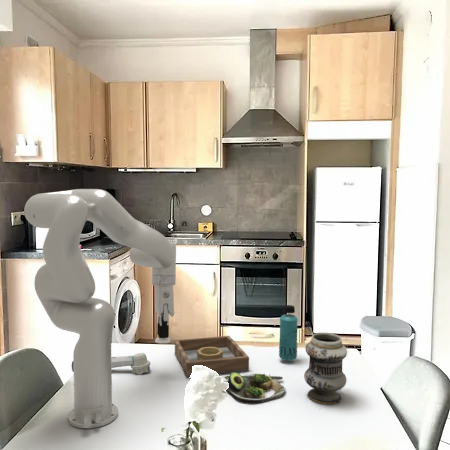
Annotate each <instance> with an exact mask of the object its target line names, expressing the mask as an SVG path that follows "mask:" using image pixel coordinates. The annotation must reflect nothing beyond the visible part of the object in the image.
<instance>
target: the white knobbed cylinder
mask: <svg viewBox="0 0 450 450" xmlns="http://www.w3.org/2000/svg"><path fill="white" fill-rule="evenodd" d="M151 364H152V363H151V361H150V360H148V357H147V355H146V353H145V352H139V353H138V352H137V353H134V354H133V355H122V356H111V367H112V369H114V368H123V367H128V366H130V368H131V370H132V373H133V374H134V375H136V374H137V375H143V373H147V374H148V373H149V372H150V371H151V367H150V366H151ZM71 372H73V373H74V362H73V361H71Z"/></svg>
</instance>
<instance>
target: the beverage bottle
mask: <svg viewBox="0 0 450 450" xmlns="http://www.w3.org/2000/svg"><path fill="white" fill-rule="evenodd" d="M295 310H296V308H295V306H294V305H290V304H286V305H283V308H282V312H283V313H284V314H282V315H281V316H280V317H279V347H278V356H279V358H280V359H281V360H283V361H294V360H296V359H297V357H298V333H299V332H298V320H299V319H298V317H297V316H296V315H295V314H294V313H295V312H296V311H295Z"/></svg>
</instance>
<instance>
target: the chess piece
mask: <svg viewBox="0 0 450 450" xmlns="http://www.w3.org/2000/svg"><path fill="white" fill-rule="evenodd" d="M162 316H163V314H162ZM162 319H163V318H162ZM154 342H155V343H157V344H169V343H170V342H172V341H171V338H170V336H169V337H168V338H159V337H158V336H157V337H156V338H155V340H154Z"/></svg>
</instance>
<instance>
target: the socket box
mask: <svg viewBox="0 0 450 450" xmlns="http://www.w3.org/2000/svg"><path fill="white" fill-rule="evenodd" d="M174 355H175V357H176V359H177V362H178V363H179V366H180V367H181V369H182V372H183V374H184V376H185V378H186V379H187V378H189V377H190V375H191V373H192V366H194V365H203V366H206V367H208V368H210V369H212V370H214V371H216V372H217V373H218V374H219V375H218V376H225V375H230V374H231V373H233V372H236V373H238V374H241V373H248V372H249V371H250V357H249V356H248V354H247V353H246V352H245V351H244V350H243V348H241V346H240V345H238V344H237V343H236V341H235V340H234V339H233V338H232V337H231V335H222V336H209V337H198V338H188V339H185V338H184V339H177V340H174ZM189 379H190V378H189Z"/></svg>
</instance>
